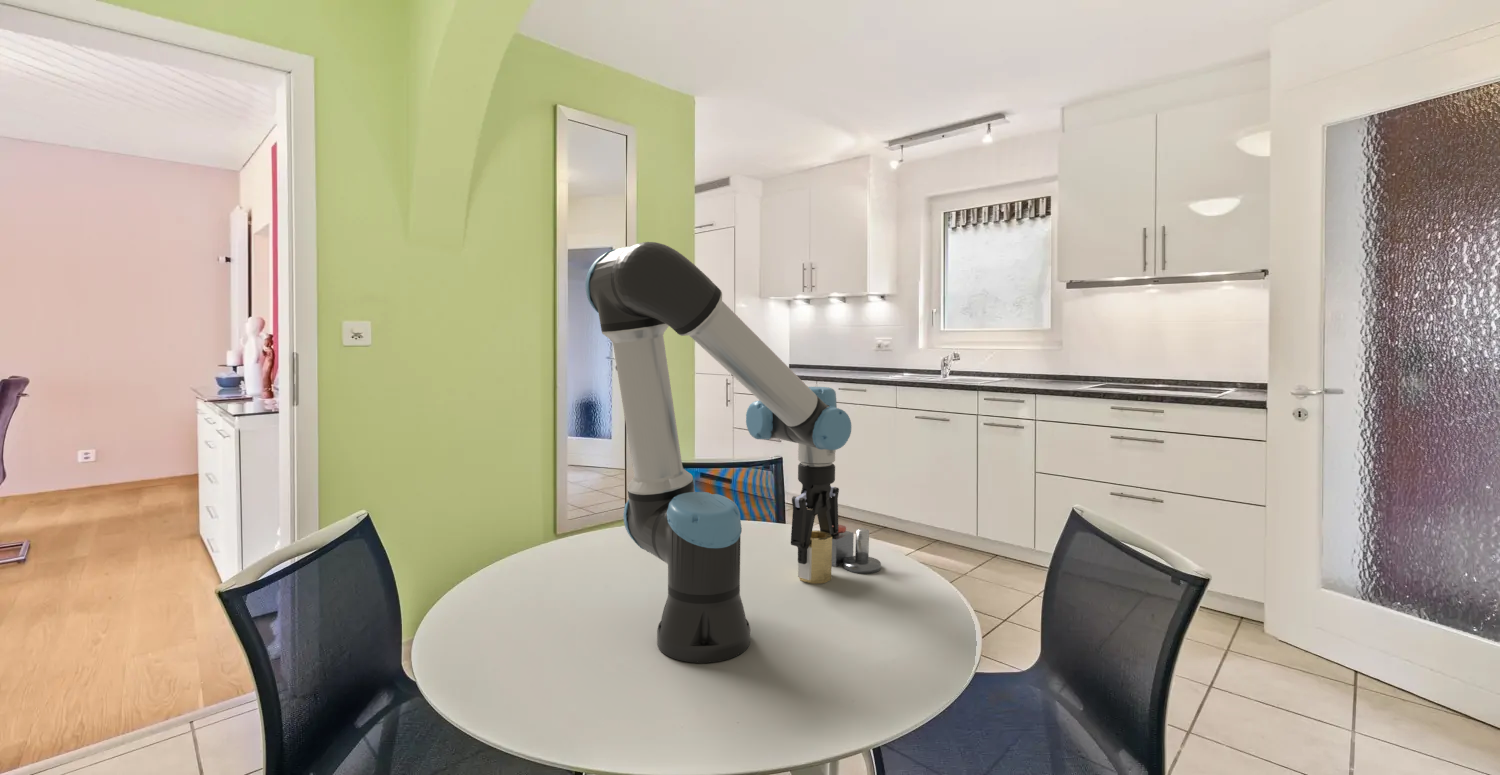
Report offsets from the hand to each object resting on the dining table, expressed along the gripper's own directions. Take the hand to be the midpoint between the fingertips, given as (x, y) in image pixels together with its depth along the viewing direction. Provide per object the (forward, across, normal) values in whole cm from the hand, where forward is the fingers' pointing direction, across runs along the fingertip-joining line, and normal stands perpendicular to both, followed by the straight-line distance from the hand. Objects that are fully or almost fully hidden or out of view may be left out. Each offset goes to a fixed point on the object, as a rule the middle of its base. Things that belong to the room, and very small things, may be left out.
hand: (814, 573), depth 140 cm
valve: (+1, +12, -2) cm, 12 cm away
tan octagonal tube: (+1, 0, 0) cm, 1 cm away
